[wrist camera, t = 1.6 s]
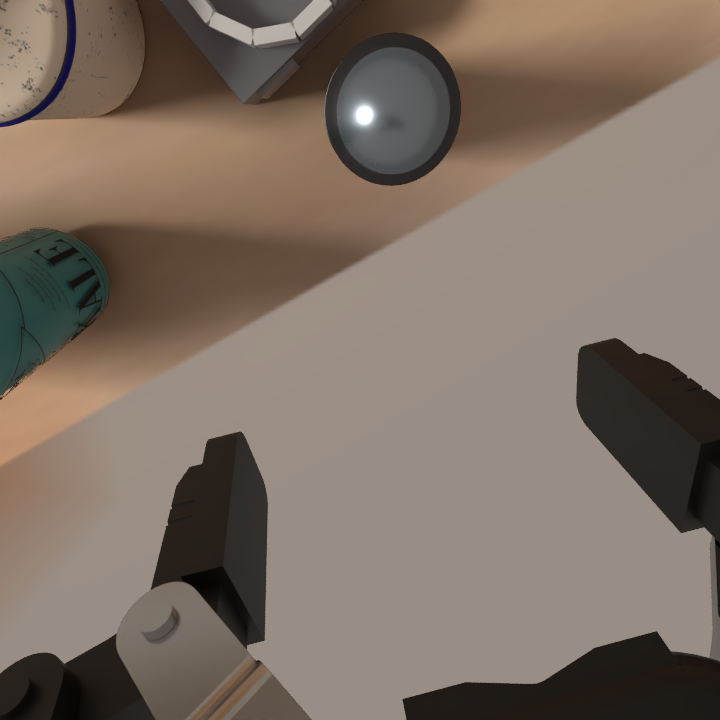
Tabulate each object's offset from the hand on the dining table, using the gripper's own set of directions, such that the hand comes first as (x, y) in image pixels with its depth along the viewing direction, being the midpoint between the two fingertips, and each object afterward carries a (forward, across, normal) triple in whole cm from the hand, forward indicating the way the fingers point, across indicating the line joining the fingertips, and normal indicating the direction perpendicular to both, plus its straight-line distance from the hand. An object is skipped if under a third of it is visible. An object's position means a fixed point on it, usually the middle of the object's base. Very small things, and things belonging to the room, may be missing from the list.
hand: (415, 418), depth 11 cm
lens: (+22, -4, -4) cm, 23 cm away
